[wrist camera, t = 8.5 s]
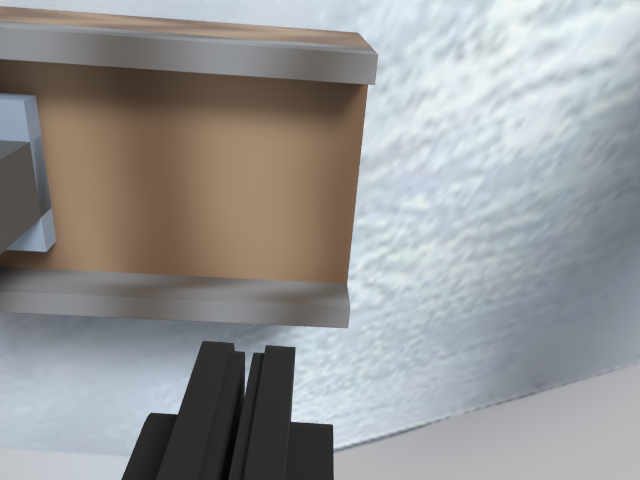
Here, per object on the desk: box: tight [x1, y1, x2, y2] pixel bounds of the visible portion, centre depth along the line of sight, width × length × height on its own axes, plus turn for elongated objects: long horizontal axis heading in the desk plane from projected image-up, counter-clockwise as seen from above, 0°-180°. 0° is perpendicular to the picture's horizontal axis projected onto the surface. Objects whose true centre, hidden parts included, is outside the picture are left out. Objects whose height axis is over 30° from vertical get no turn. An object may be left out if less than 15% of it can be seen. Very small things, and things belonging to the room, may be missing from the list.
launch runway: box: [0, 7, 378, 328], centre depth 24 cm, size 16×11×8 cm
